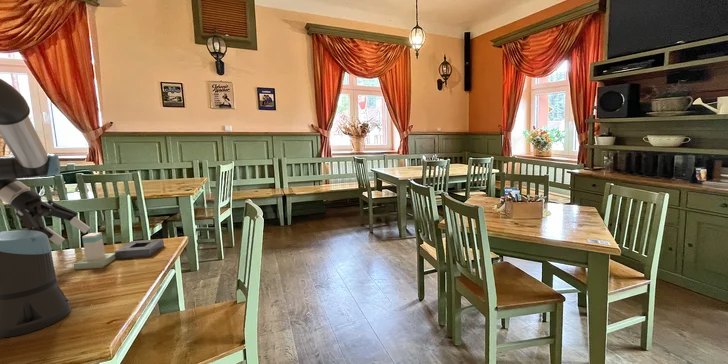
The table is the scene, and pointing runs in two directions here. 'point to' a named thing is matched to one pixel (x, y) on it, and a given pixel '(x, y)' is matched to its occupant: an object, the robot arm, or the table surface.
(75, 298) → the table surface
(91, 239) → the plug peg
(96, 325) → the table surface
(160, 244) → the socket block
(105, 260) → the pale green square slab
